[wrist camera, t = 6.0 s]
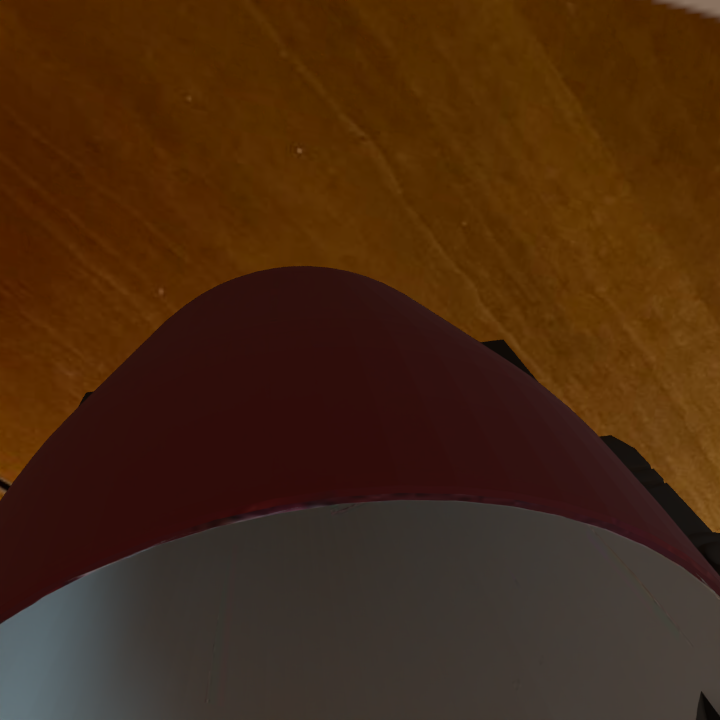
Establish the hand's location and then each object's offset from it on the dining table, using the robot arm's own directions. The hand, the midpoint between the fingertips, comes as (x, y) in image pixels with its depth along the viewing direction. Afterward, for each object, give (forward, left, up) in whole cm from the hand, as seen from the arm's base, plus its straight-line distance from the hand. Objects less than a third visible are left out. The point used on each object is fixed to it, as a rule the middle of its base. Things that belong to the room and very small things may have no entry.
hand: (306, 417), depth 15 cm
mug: (0, 0, -1) cm, 1 cm away
